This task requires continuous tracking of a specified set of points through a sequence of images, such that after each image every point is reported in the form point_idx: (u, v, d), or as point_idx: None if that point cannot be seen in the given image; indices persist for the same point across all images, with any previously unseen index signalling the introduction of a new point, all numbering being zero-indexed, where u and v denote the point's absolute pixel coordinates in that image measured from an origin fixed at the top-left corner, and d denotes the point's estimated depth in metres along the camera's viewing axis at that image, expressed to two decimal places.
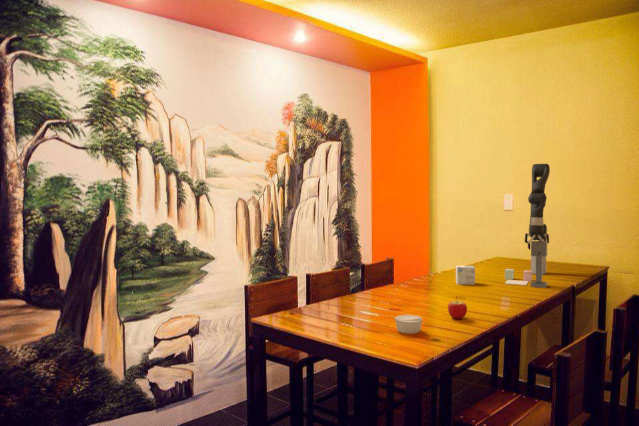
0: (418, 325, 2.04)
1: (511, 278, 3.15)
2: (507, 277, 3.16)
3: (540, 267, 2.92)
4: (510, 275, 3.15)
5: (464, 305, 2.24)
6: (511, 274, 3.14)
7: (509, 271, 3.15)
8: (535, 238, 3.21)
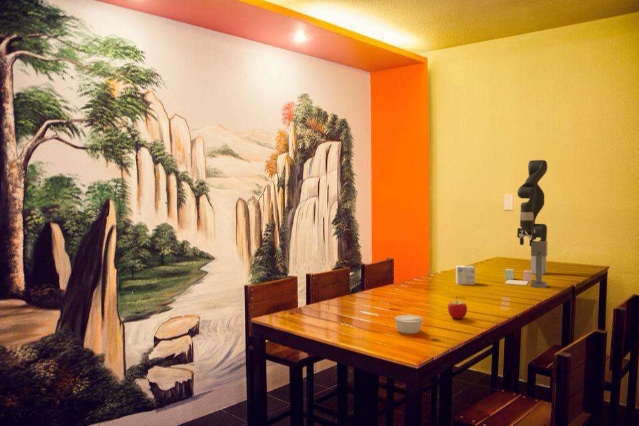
0: (418, 325, 2.04)
1: (511, 278, 3.15)
2: (507, 277, 3.16)
3: (540, 267, 2.92)
4: (510, 275, 3.15)
5: (464, 305, 2.24)
6: (511, 274, 3.14)
7: (509, 271, 3.15)
8: (524, 233, 3.10)
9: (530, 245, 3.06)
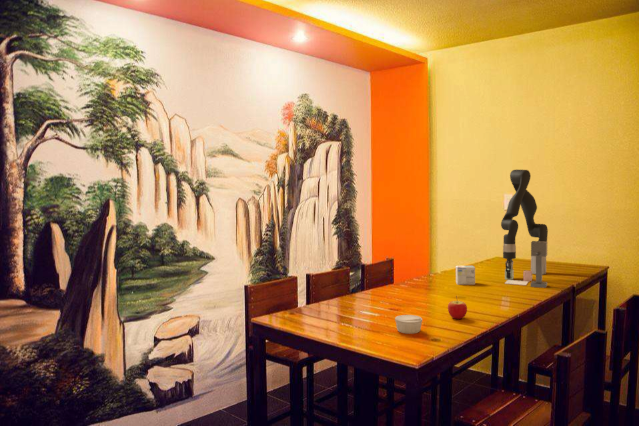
0: (418, 325, 2.04)
1: (511, 278, 3.15)
2: None
3: (540, 267, 2.92)
4: None
5: (464, 305, 2.24)
6: (511, 274, 3.14)
7: None
8: None
9: None
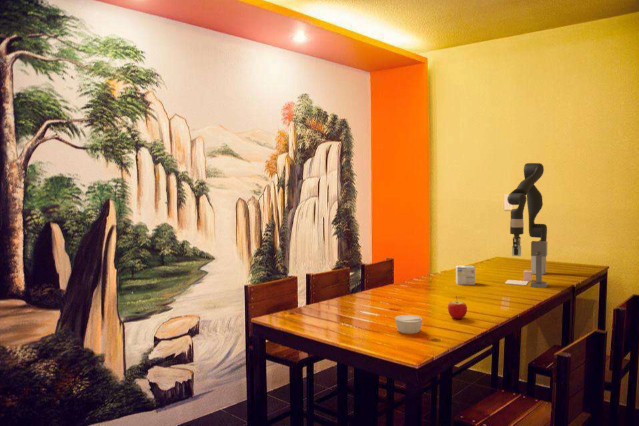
0: (418, 325, 2.04)
1: (518, 254, 3.01)
2: None
3: (540, 267, 2.92)
4: None
5: (464, 305, 2.24)
6: (518, 250, 3.01)
7: None
8: None
9: (514, 253, 3.02)
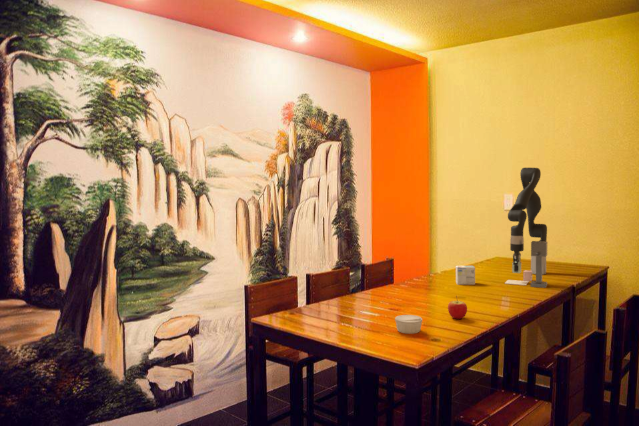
0: (418, 325, 2.04)
1: (519, 271, 3.02)
2: None
3: (540, 267, 2.92)
4: (518, 268, 3.02)
5: (464, 305, 2.24)
6: (519, 267, 3.02)
7: None
8: None
9: (514, 270, 3.02)
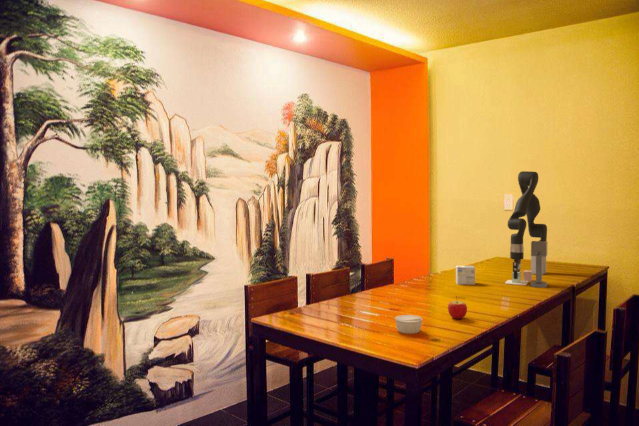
0: (418, 325, 2.04)
1: (519, 281, 3.02)
2: (514, 280, 3.03)
3: (540, 267, 2.92)
4: None
5: (464, 305, 2.24)
6: (519, 277, 3.02)
7: None
8: None
9: None
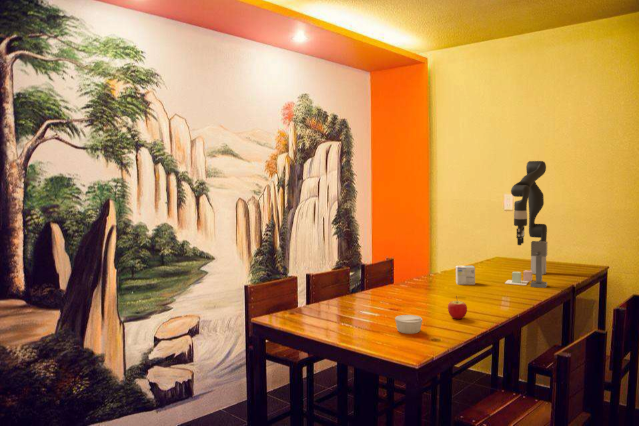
0: (418, 325, 2.04)
1: (519, 281, 3.02)
2: (514, 280, 3.03)
3: (540, 267, 2.92)
4: (517, 278, 3.02)
5: (464, 305, 2.24)
6: (519, 277, 3.02)
7: (516, 274, 3.02)
8: None
9: (517, 244, 3.03)
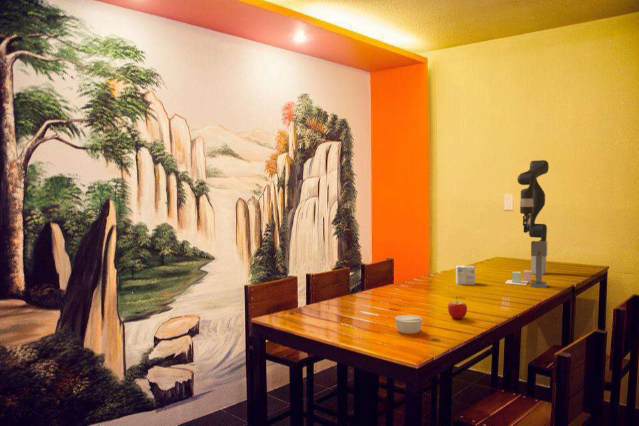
0: (418, 325, 2.04)
1: (519, 281, 3.02)
2: (514, 280, 3.03)
3: (540, 267, 2.92)
4: (517, 278, 3.02)
5: (464, 305, 2.24)
6: (519, 277, 3.02)
7: (516, 274, 3.02)
8: None
9: None
